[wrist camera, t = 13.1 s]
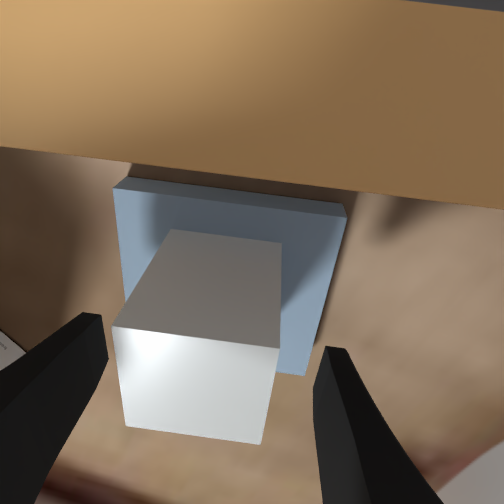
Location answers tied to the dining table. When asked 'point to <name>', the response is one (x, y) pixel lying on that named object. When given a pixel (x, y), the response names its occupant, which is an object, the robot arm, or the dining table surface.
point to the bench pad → (242, 226)
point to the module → (202, 337)
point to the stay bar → (265, 90)
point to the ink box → (8, 351)
